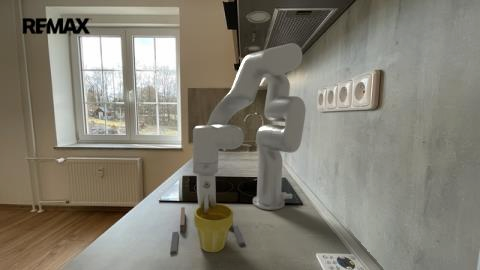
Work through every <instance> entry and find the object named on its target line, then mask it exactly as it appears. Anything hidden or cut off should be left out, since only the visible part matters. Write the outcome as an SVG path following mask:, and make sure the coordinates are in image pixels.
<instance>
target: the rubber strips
mask: <svg viewBox="0 0 480 270" xmlns="http://www.w3.org/2000/svg"><path fill="white" fill-rule="evenodd" d="M232 231H233V233H234V237H235V239H236V242H237V245H238V246H239V247H240V246H245V244H246V242H245V240H244V237H243V235H242V233H241V230H240V228H239V226H238V225H232ZM171 235H172V236H171V244H170V249H169V250H170V251H169V254H170V255H175V254H176V255H177V254H178V245H179V244H178V243H179V231H172V234H171Z"/></svg>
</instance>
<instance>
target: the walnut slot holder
mask: <svg viewBox="0 0 480 270" xmlns="http://www.w3.org/2000/svg"><path fill="white" fill-rule="evenodd" d="M223 204H224V205H226V204H225V203H223ZM179 223H180V224H179V233H180V234H184V233H185V227H186V226H185V223H186V207H185V206H181V208H180V221H179ZM231 227H232V226H231ZM231 227H230V228H231ZM230 228H229V229H230Z"/></svg>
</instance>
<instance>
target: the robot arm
mask: <svg viewBox="0 0 480 270" xmlns="http://www.w3.org/2000/svg"><path fill="white" fill-rule="evenodd" d="M302 60H303V52H302V49H301V47H300V45H298V44H296V43H293V42H291V43H287V44H283V45H279V46H273V47H269V48H266V49H263V50H259V51H256V52H252V53H249V54H247V55H246V56H245V57H244V58H243V59H242V61H241V63H240V66H239V69H238V71H237V72H236V76H235V78H234V81H233V83H232V85H231V88H230V90H229V92H228V93H227V94H226V95H225V96H224V97H223V98H222V99H221V100H220V102H219V103H218V104H217V105H216V106H215V107H214V109H213V111H212V112H211V113H210V116H209V119H208V121H207V124H205V125H202V124H201V125H196V126H194V128H193V130H192V173H193V174H195V175H196V194H197V196H196V197H197V202H198V207H199V206H201V205H204V214H209V204H211V206H212V207H214V208H215V206H216V203H217V201H216V197H217V195H216V192H217V191H216V188H217V187H216V174H217V173H219V150H235V149H237V148H239V147H241V146H242V145H243V143H244V140H245V134H244V131H243V130H242V128H240V127H239V126H237V125H234V124H228V122H230V119H231V118H232V117H233V116H234V115H235V114H236V113H238V112H240V111H241V110H244V109H245V108H247V107H248V106H250V105H251V104H253V103H254V101H255V99H256V96H257V93H258V91H259V88H260V85H261V83H262V81H263V79H264V78H265V79H266V81H267V91H266V96H265V103H264V111H263V112H264V113H263V115H264V117H265V118H266V120H268V121H271V122H278V123H279V122H281V123H284V125H279V124H263V125H262V126H260V127H259V128H258V129H257V132H256V134H255V140H256V146H257V181H256V182H257V184H256V196H254V197H253V198H252V204H253V206H255V207H256V208H259V209H261V210H267V211H276V210H281V209H282V208H284V207H285V201H286V200H291V199H293V194H292V193H287V192H286V191H285V192H282V181H283V180H282V179H283V156H282V155H281V154H282V153H281V152H283V153H288V154H291V153H295V152H297V151H298V150H299V148H300V146H301V143H302V139H303V133H304V126H305V120H306V104H305V102H304V99H302V98H301V97H299V96H297V95H296V96H295V95H293V96H291V95H290V89H291V83H290V80H289V78H288V77H287V75H286V73H288V72H291V71H293V70H295V69H296V68H298V67H299V66H300V64H301V63H302Z"/></svg>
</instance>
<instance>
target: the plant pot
mask: <svg viewBox="0 0 480 270" xmlns="http://www.w3.org/2000/svg"><path fill="white" fill-rule="evenodd" d="M224 204H225V203H218V202H216V206H215V208H214V207H212V206H211V204H209V214H204V205H201V206H199V205H198V206H197V207H196V209H195V210H194V213H193V218H194V219H193V220H194V221H193V222H194V226H195V228H196V230H197V234H198V239H199V240H198V241H199V245H200V248H201V250H203V251H204V252H207V253H217V252H220V251H221V250H223V249H224V248H225V245H226V242H227V237H228V235H229V231H230V227H233V222H234V211H233V210H234V209H232V208H231V207H230V206H229V205H226V204H225V205H224Z"/></svg>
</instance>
